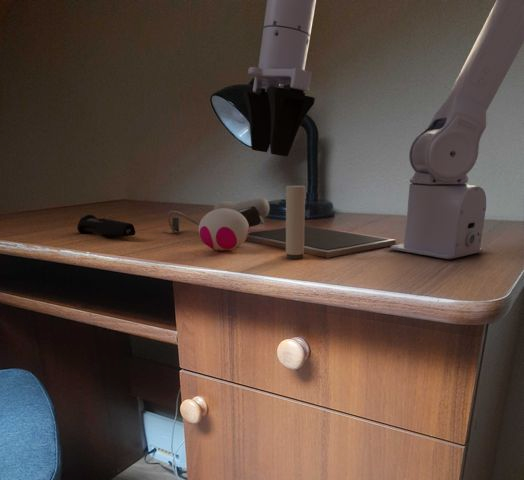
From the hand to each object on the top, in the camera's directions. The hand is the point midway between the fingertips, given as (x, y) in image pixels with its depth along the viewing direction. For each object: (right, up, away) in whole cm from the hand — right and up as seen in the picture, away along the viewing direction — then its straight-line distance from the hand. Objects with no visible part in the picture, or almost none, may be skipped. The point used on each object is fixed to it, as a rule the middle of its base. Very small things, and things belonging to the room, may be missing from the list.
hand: (268, 153), depth 65 cm
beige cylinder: (+3, -14, +1) cm, 14 cm away
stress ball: (-7, -12, +6) cm, 15 cm away
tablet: (+7, -9, +11) cm, 16 cm away
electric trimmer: (-27, -6, +20) cm, 34 cm away
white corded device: (-9, -6, +20) cm, 23 cm away
